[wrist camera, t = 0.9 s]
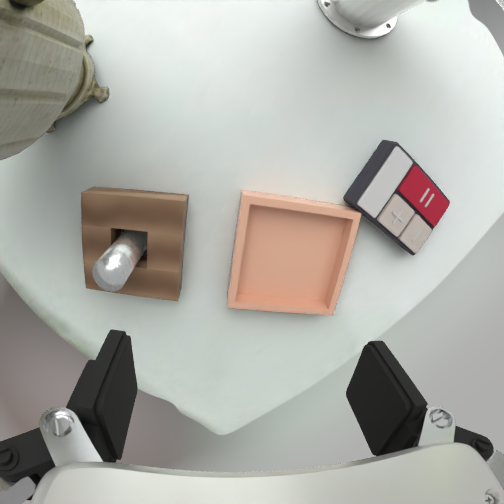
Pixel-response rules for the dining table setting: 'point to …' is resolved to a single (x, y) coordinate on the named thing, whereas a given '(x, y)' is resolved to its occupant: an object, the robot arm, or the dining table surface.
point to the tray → (290, 254)
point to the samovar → (41, 69)
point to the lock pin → (120, 260)
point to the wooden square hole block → (140, 219)
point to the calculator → (398, 196)
